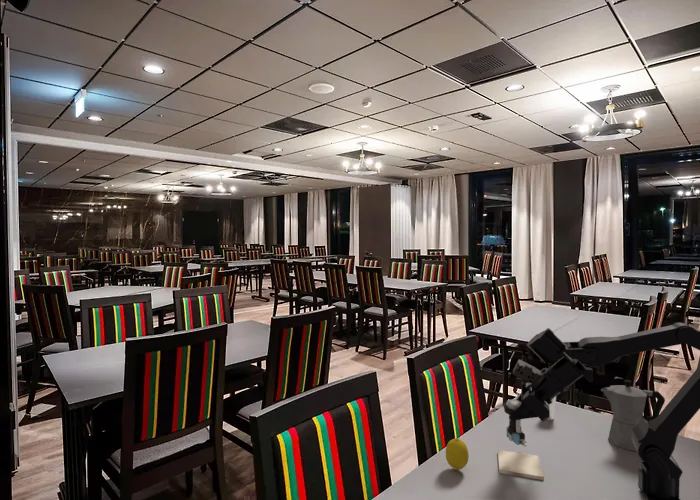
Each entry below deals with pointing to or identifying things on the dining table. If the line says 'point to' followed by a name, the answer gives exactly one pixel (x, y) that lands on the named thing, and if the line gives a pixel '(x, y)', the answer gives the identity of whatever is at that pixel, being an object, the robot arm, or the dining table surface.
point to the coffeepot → (628, 411)
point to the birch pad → (520, 464)
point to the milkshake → (552, 409)
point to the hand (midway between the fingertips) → (510, 414)
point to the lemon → (457, 454)
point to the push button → (514, 423)
